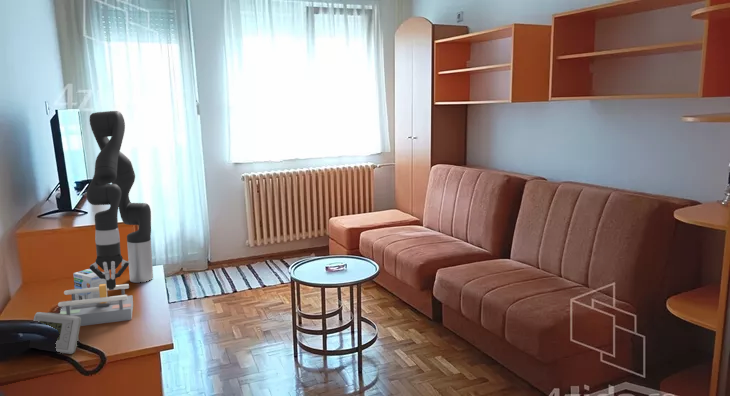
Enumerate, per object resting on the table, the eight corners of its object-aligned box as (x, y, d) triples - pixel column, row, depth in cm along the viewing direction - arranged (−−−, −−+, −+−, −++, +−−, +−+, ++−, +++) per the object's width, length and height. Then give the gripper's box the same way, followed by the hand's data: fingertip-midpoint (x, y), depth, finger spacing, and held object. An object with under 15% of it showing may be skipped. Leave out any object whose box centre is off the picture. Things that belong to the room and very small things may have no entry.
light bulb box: (74, 300, 198) (72, 272, 196) (91, 294, 203) (88, 268, 202) (92, 305, 193) (90, 277, 191) (108, 299, 199) (106, 272, 197)
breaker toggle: (98, 302, 183) (96, 283, 182) (110, 301, 185) (109, 282, 183) (97, 306, 180) (95, 287, 178) (109, 305, 181) (108, 286, 180)
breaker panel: (65, 313, 184) (63, 289, 183) (133, 305, 192) (131, 282, 191) (58, 328, 172) (56, 303, 170) (131, 319, 180) (129, 295, 178)
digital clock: (25, 349, 157) (22, 316, 155) (54, 337, 165) (51, 306, 163) (61, 360, 150) (58, 325, 149) (89, 347, 159) (86, 314, 157)
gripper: (129, 237, 185) (132, 283, 188) (87, 240, 180) (91, 287, 183) (128, 242, 178) (131, 290, 181) (85, 245, 173) (89, 294, 176)
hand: (111, 289), depth 182 cm, fingers closed
